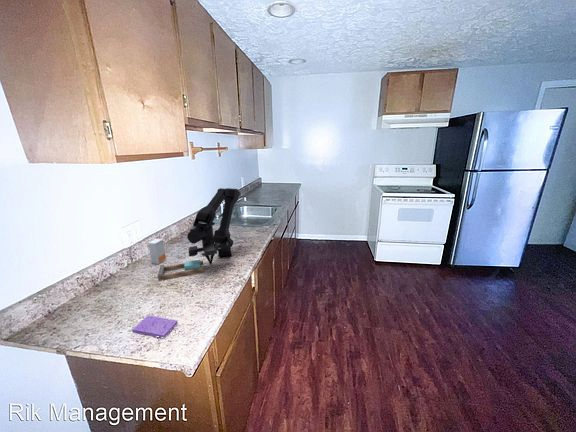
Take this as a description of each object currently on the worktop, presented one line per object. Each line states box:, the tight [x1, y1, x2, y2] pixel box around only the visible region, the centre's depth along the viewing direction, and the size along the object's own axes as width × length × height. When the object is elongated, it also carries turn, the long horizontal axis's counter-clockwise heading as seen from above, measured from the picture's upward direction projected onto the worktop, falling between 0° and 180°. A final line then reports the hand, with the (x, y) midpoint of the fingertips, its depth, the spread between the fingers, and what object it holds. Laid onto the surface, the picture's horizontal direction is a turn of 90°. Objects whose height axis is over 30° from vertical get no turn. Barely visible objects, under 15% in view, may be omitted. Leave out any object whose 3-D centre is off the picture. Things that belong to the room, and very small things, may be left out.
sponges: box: [132, 314, 178, 338], centre depth 80 cm, size 7×13×2 cm, turn 77°
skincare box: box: [148, 238, 167, 265], centre depth 123 cm, size 6×4×12 cm
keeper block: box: [183, 259, 202, 271], centre depth 116 cm, size 7×5×4 cm
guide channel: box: [157, 259, 205, 282], centre depth 114 cm, size 20×9×3 cm, turn 111°
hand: (210, 263), depth 119 cm, fingers closed
